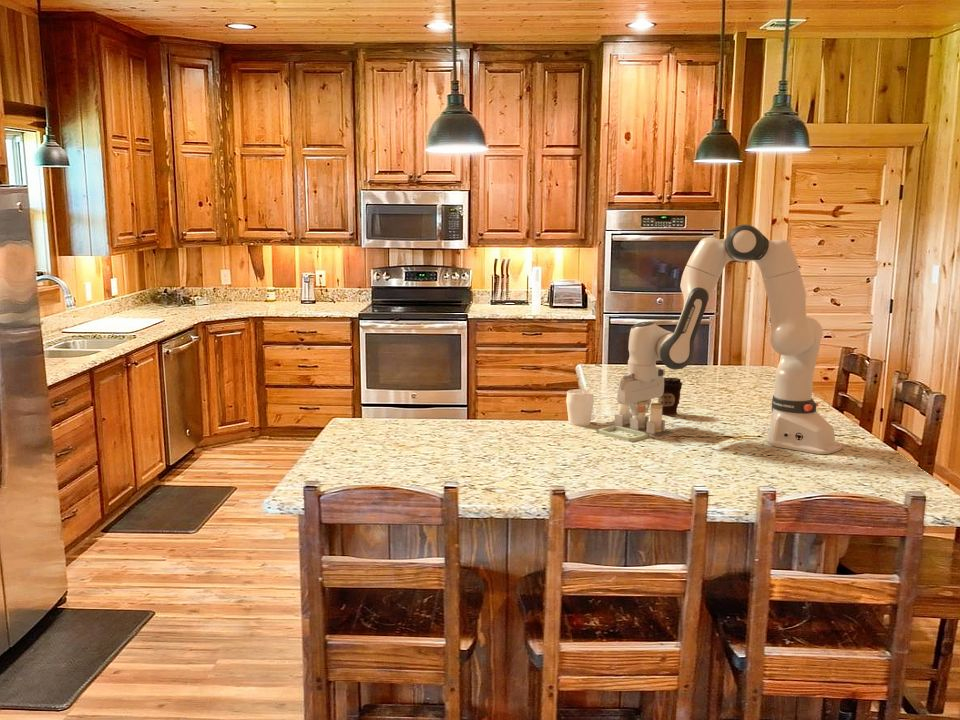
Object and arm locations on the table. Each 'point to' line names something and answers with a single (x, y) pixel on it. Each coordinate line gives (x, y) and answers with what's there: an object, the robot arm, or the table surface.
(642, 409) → the fuse marked
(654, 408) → the fuse
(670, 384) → the coffee cup
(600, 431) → the tray
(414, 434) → the table surface
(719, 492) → the table surface
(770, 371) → the table surface
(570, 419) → the cup
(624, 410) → the fuse
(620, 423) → the fuse block
